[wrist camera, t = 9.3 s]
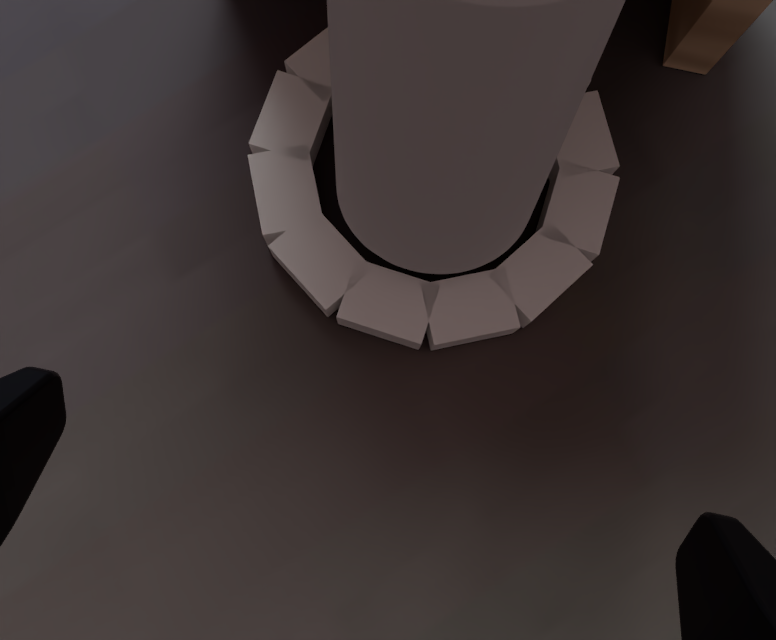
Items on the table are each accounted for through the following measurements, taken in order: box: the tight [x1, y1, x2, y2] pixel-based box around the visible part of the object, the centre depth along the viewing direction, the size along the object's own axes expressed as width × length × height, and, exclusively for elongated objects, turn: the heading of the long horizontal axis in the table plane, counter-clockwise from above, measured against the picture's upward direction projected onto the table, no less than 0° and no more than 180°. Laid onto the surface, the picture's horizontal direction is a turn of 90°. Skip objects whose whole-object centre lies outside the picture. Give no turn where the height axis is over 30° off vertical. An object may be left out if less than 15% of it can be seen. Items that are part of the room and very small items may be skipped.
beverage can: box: [327, 0, 625, 274], centre depth 17 cm, size 6×6×12 cm
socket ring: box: [247, 27, 620, 351], centre depth 23 cm, size 12×12×1 cm
